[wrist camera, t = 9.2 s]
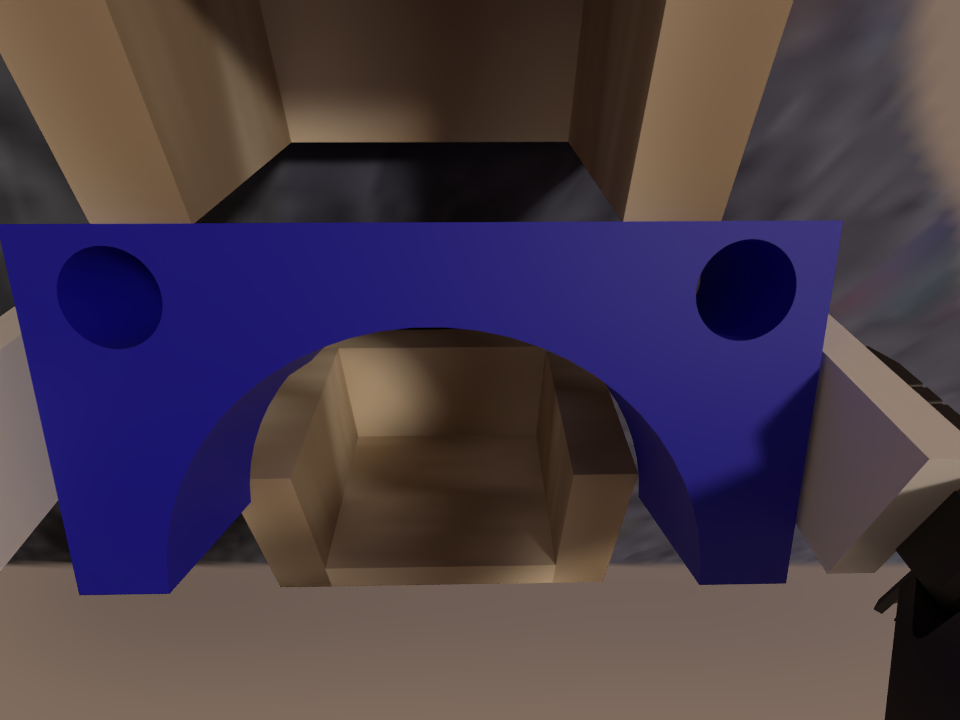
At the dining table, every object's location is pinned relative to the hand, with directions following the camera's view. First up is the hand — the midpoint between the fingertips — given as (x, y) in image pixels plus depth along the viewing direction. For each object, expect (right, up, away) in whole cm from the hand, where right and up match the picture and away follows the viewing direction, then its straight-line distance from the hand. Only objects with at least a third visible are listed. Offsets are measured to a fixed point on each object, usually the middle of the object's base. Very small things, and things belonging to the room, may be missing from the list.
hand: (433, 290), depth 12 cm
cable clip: (0, +1, -3) cm, 3 cm away
